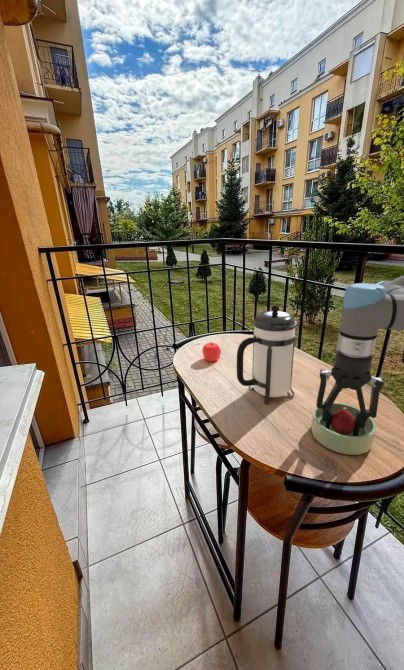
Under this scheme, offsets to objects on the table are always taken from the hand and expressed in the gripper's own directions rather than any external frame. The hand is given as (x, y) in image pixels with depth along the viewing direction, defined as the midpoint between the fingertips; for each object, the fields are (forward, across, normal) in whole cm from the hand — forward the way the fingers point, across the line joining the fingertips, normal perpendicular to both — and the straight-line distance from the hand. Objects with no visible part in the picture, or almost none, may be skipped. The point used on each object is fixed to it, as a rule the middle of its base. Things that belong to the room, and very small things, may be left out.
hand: (340, 433), depth 73 cm
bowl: (+1, 0, 0) cm, 1 cm away
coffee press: (+1, -21, +14) cm, 25 cm away
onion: (0, 0, 0) cm, 0 cm away
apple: (+1, -48, +33) cm, 58 cm away
